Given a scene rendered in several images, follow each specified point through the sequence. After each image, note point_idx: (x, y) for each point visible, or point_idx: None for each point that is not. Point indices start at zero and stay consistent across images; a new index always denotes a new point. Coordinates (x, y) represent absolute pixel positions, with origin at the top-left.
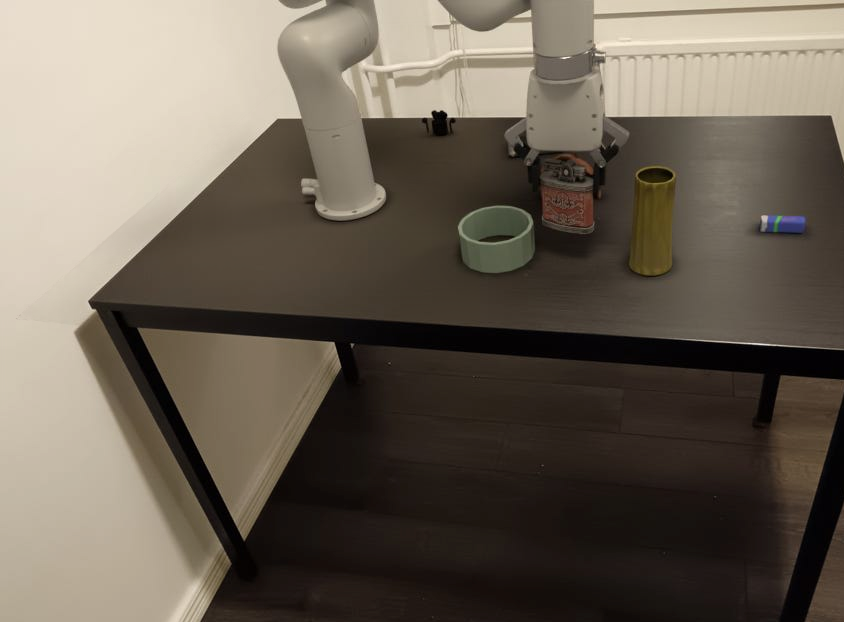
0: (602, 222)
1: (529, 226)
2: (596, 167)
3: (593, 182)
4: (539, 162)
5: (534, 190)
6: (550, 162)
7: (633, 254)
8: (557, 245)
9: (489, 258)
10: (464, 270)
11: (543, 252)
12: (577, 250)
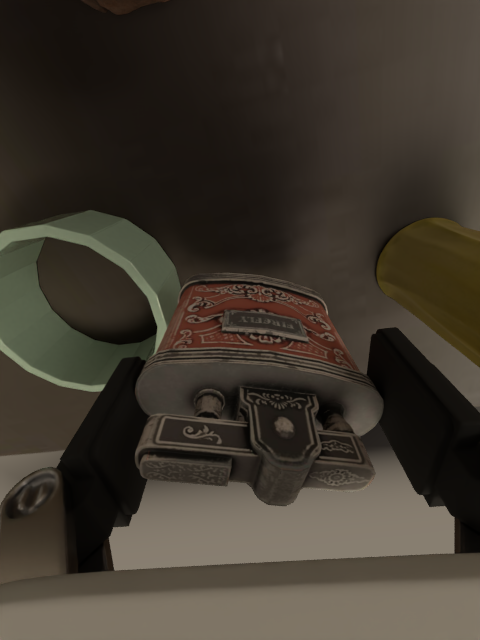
0: (294, 79)
1: (157, 314)
2: (440, 503)
3: (384, 432)
4: (112, 460)
5: None
6: (178, 478)
7: (398, 293)
8: (212, 233)
9: None
10: None
11: (194, 267)
12: (261, 243)
